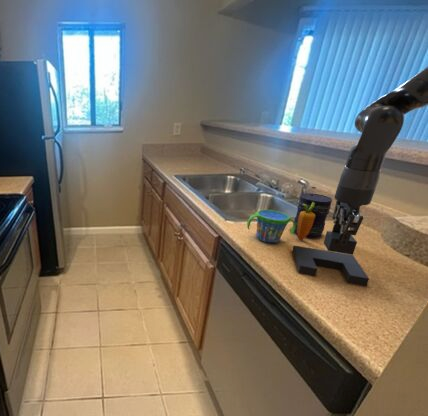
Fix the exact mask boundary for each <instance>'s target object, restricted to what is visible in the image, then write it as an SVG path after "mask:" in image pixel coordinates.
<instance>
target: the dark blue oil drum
mask: <svg viewBox="0 0 428 416" xmlns="http://www.w3.org/2000/svg"><path fill="white" fill-rule="evenodd" d="M311 188H312V189H317V187H316V186H311ZM312 202H314V203H315V205H314V207H313V209H312V210H311V212H312V213H314V214H315V219H314V222H313V225H312V228H311V230H310V231H309V233H308V235H307V236H306V237H305V238H306V239H314V240H316V239H320V238H322V236H323V235H322V234H323V232H324V230H325V226H326V220H327V217H328V215H329V213H330V210H331V207H332V202H333V198H332V197H330V196H328V195H324V194H318V193H308V192H306V193H301V194H300V196H299V200H298V203H297V206H296V207H297V208H296V209H297V211H296V215H295V217H294V219H293V220H294V222H295V224H296V229H295V232H294V234H295V235H296V236H298V234H297V223H298V218H299V214H300V212H302V211H306V210H305V207H304V206H303V205H302V204H306V205H307V207H308V209H309V208H310V207H311V204H312ZM305 238H304V239H305Z"/></svg>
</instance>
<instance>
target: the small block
mask: <svg viewBox="0 0 428 416" xmlns="http://www.w3.org/2000/svg"><path fill="white" fill-rule="evenodd" d="M339 234H340V233H338V232H332V230H326V233H325V236H324V239H323V244H324V246H325V248H326V251H331V252H337V253H343V254H349V255H353V256H354V253H355V250H356V247H357V244H358V241H357V240H356V239H355V238H354V236H353V235H351V236H350V239H349V242H348V245H347V246H339V245H337V241H338V237H339Z"/></svg>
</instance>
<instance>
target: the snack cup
mask: <svg viewBox="0 0 428 416" xmlns="http://www.w3.org/2000/svg"><path fill="white" fill-rule="evenodd" d="M255 218H256V219H257V220H256V238H257V239H259V241H262V242H264V243H269V244H272V243H274V244H277V243H278V242H279V241H280V240H281V238H282V236H283V234H284V231H285V229H286V227H287V226H288V224H289V222H290V221H291V222H292V227H291V229H290V231H289V232H290V234H291V235H294V234H295V233H294V232H295V229H296V224H295V222H294V219H293V218H292V217H290V216H289V215H288V214H286V213H284V212H281V211H278V210H274V209H260V210H258V211H257V212H256V213H253V214H252V215H251V216H249V218H248V219H247V222H246V225H247V230H250V227H251V222H252V220H253V219H255Z"/></svg>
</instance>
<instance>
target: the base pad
mask: <svg viewBox="0 0 428 416" xmlns="http://www.w3.org/2000/svg"><path fill="white" fill-rule="evenodd" d="M292 246H293V247H292V251H291V252H292V256H293V260H294V263H295V265H296V268H297V272H298V274H304V275H308V276H313V277H315V276H316V275H317V271H318V267H323V268H329V269H334V270H340V271H341V273H342V275H343V277H344V279H345V281H346V282H347V283H349V284H354V285H359V286H364V287H367V286H368V284H369V281H370V278H369V277H368V274H367V273H366V272H365V270H364V269H363V268H362V266H361V265H360V263H359V262H358V260H357V258H355V256H354V254H353V255H351V254H345V253H339V252H333V251H328V250H325V249H320V248H319V249H317V248H313V247H307V246H301V245H292Z"/></svg>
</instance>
